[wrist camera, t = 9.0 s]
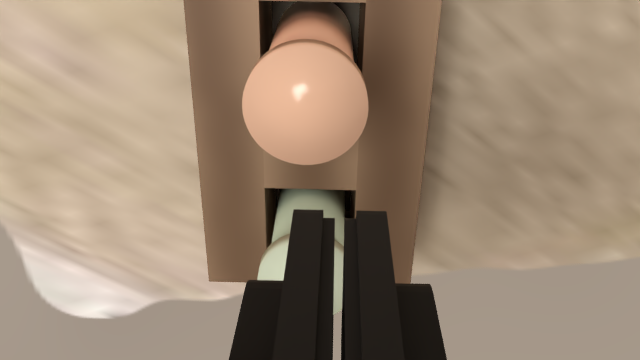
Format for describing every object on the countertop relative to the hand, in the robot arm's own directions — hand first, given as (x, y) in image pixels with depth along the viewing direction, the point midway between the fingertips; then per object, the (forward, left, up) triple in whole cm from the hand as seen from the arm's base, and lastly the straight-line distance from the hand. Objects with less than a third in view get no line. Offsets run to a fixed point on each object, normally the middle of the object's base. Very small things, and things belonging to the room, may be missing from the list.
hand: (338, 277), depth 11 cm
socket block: (+1, +7, -25) cm, 26 cm away
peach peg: (+1, +2, -23) cm, 23 cm away
